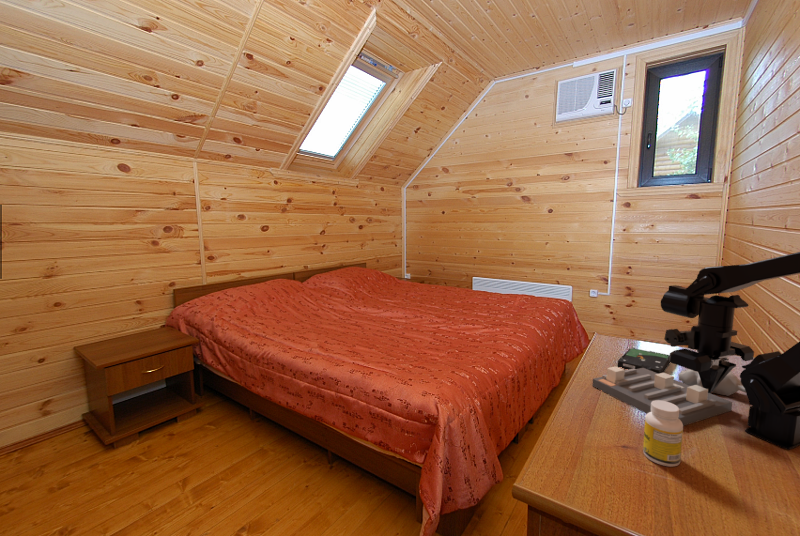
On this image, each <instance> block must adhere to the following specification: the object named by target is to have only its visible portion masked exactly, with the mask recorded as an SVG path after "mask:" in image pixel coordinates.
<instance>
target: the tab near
mask: <svg viewBox="0 0 800 536" xmlns="http://www.w3.org/2000/svg"><path fill="white" fill-rule="evenodd" d="M707 396H708V389H706V388H703V387H701V386H698V385H693V386H689V387H687V393H686V400H687V401H689V402H692V403H694V404H697V403H700V402H704V401H707Z"/></svg>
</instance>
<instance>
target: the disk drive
mask: <svg viewBox="0 0 800 536" xmlns="http://www.w3.org/2000/svg"><path fill="white" fill-rule="evenodd" d="M669 357H670V354H665V353H662V352H656V351H651V350H646V349H645V350H643V349H639V348H635V347H631V348H629V349H628V350H627V351H626V352H625V353H624V354H623V355H622V356H620V357H619V359H617V365H616V367H617V366H618V367H622V368H625V369H628V370H629V369H633V368H634V369H639V368H645V369H648V370H650V371H653V372H656V373H658V374H660V373H665V371H666V370H667V369H668V367H669V366H670V364H671V363H670V362H669ZM625 369H624V370H625Z"/></svg>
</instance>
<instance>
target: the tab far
mask: <svg viewBox="0 0 800 536" xmlns="http://www.w3.org/2000/svg"><path fill="white" fill-rule="evenodd" d="M624 373H625V369H621V368H619V367H617V365H616V366H612V367H611V366H609V367H607V368H606V374H607V377H606V380H608V381H610V382H613V383H615V384H616V381H620V380H624Z"/></svg>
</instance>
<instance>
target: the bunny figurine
mask: <svg viewBox="0 0 800 536" xmlns="http://www.w3.org/2000/svg"><path fill="white" fill-rule="evenodd" d="M678 381H679V382H682V383H684V384H687V385H689V386H693V385H698V386H701V387H703V386H702V382H701V379H700V376H699V373H698V372H697V371H693V370H690V369H687V368H686V370H681V371H680V372H679V373H678ZM739 391H740V392H743V393H745V394H746V391H745V388H744V387H743V385H742V383H741V379H740V378H738V376H737V375H736V374H734V373H733V371H732V370H731V371H730V372H729V373H728V374H727V375H726V376H725V378H724V379H723V380H722V381H721V382H720V383H719V385H718V386H717V387H716V388H715V389H714V390H713V392H712V393H713V394H716V395H723V396H726V397H729V396H731V395H733V394H735V393H737V392H739Z"/></svg>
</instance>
